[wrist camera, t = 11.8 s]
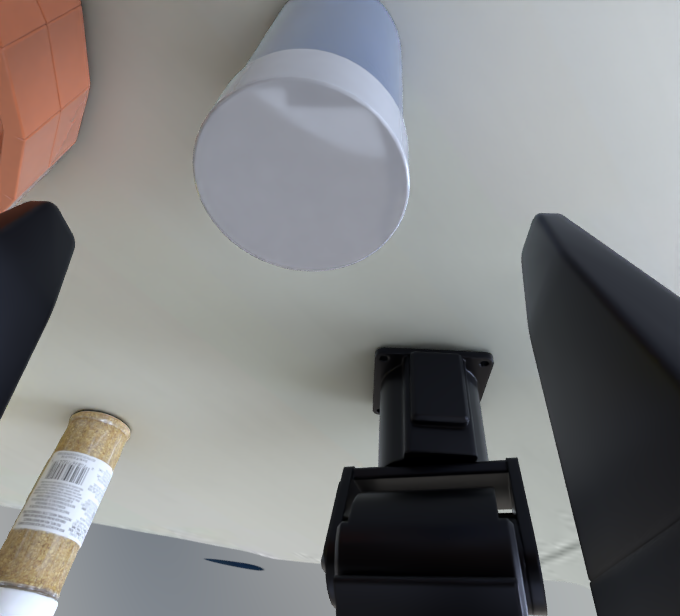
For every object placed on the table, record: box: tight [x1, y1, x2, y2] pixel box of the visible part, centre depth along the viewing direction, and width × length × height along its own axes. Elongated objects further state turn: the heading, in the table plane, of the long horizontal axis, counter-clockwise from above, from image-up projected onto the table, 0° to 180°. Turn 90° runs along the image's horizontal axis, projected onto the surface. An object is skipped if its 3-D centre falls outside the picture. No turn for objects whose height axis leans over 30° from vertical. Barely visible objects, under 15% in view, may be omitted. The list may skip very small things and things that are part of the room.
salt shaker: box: [193, 0, 410, 271], centre depth 12 cm, size 5×5×8 cm
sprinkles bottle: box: [0, 411, 130, 616], centre depth 31 cm, size 5×5×13 cm
